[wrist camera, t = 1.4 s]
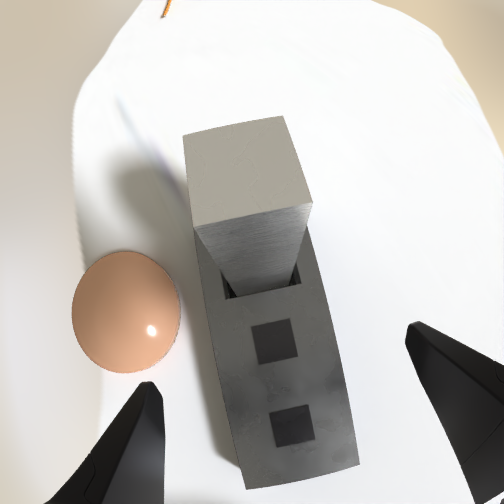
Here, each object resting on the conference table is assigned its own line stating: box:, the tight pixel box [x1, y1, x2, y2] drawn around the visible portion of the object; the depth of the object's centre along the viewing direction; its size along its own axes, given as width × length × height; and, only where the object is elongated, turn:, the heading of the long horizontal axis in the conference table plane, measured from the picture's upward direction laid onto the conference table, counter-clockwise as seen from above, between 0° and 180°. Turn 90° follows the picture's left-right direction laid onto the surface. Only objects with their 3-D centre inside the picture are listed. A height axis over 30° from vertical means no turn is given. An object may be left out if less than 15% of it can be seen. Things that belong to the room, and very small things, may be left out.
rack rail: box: [193, 225, 360, 490], centre depth 20 cm, size 20×8×3 cm, turn 11°
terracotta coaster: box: [72, 252, 181, 373], centre depth 23 cm, size 10×10×1 cm
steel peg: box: [183, 116, 313, 296], centre depth 17 cm, size 4×4×14 cm
